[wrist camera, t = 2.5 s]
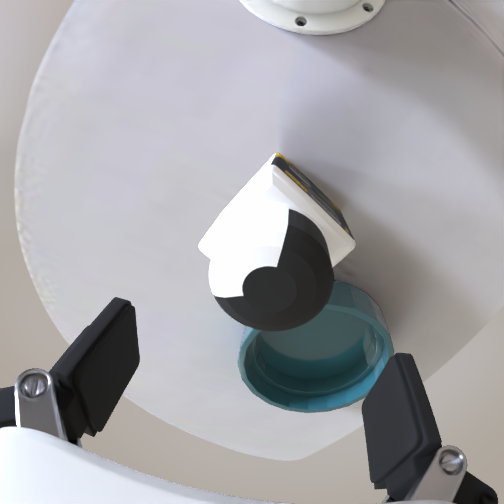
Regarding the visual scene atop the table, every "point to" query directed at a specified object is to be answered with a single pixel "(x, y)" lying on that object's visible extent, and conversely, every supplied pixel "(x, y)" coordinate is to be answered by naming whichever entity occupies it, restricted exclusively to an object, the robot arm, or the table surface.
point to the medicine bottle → (276, 249)
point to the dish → (319, 355)
